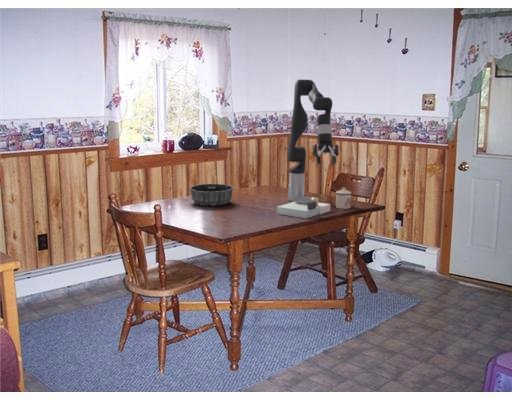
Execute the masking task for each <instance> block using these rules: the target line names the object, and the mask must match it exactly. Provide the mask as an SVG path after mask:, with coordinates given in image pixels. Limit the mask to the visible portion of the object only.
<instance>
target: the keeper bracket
mask: <svg viewBox="0 0 512 400" xmlns="http://www.w3.org/2000/svg"><path fill="white" fill-rule="evenodd" d="M315 208H316V201H310V202H308V203H307V210H312V209H315Z"/></svg>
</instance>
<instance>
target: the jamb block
mask: <svg viewBox="0 0 512 400" xmlns="http://www.w3.org/2000/svg"><path fill="white" fill-rule="evenodd" d="M291 203H292V204H299V205H306V206H307V204H302V203H295V201H291ZM316 207H318V215H323V214H325V213H328V212H331V204H330V203H325V202H319V201H318V205H316Z"/></svg>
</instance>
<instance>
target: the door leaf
mask: <svg viewBox="0 0 512 400" xmlns="http://www.w3.org/2000/svg"><path fill="white" fill-rule="evenodd" d="M276 214H277V215H284V216H289V217H293V218H294V217H296V218H302V219H309V218H311V217H314V216H317V215H319V214H318V207H316V208H315V209H312V210H307V206H306V205H299V204H292V202H288V203H286V204H282V205H278V206H276Z"/></svg>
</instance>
